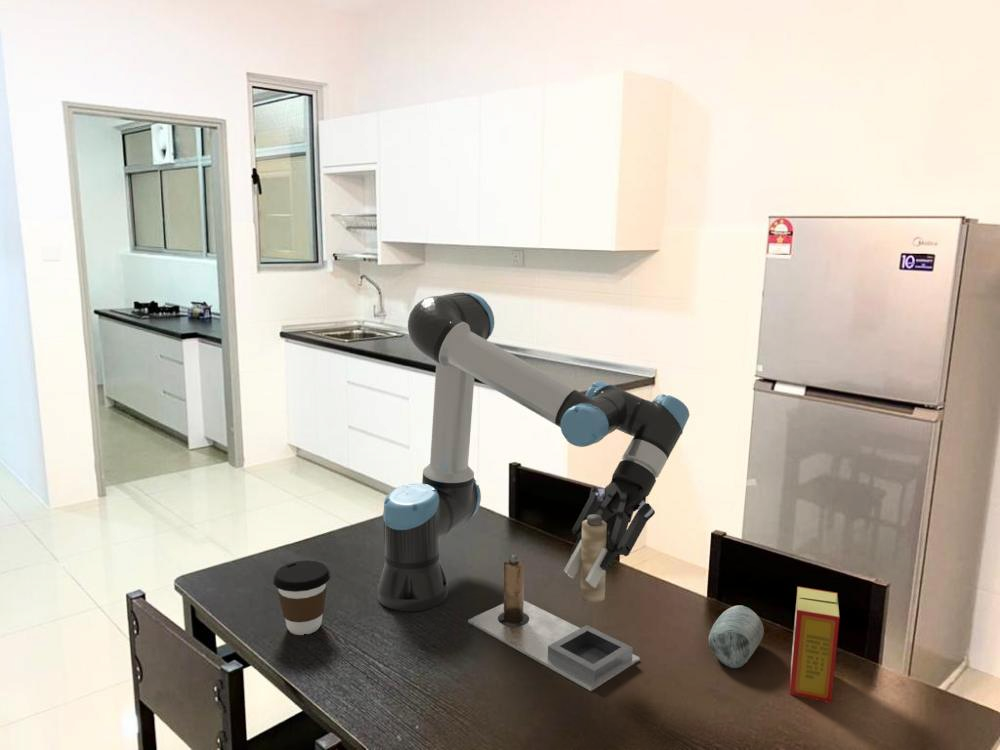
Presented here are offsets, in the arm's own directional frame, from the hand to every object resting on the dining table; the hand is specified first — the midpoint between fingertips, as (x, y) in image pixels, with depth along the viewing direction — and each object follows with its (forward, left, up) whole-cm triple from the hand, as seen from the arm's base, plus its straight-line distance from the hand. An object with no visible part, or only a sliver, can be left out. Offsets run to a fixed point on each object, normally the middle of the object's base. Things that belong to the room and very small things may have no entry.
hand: (579, 579), depth 134 cm
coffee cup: (-47, -28, -18) cm, 58 cm away
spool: (+17, +26, -18) cm, 36 cm away
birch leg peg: (0, +4, -5) cm, 6 cm away
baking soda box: (+31, +27, -18) cm, 45 cm away
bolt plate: (-10, +4, -18) cm, 21 cm away
